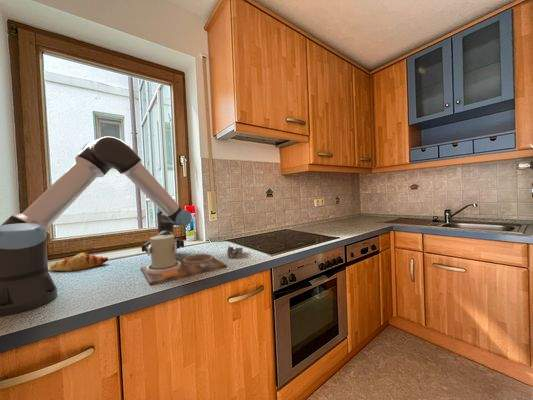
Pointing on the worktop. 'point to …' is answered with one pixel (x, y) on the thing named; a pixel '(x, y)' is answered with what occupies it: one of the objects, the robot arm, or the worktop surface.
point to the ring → (165, 270)
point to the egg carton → (234, 252)
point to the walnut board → (187, 268)
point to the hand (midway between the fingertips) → (162, 250)
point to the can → (162, 251)
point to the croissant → (78, 262)
